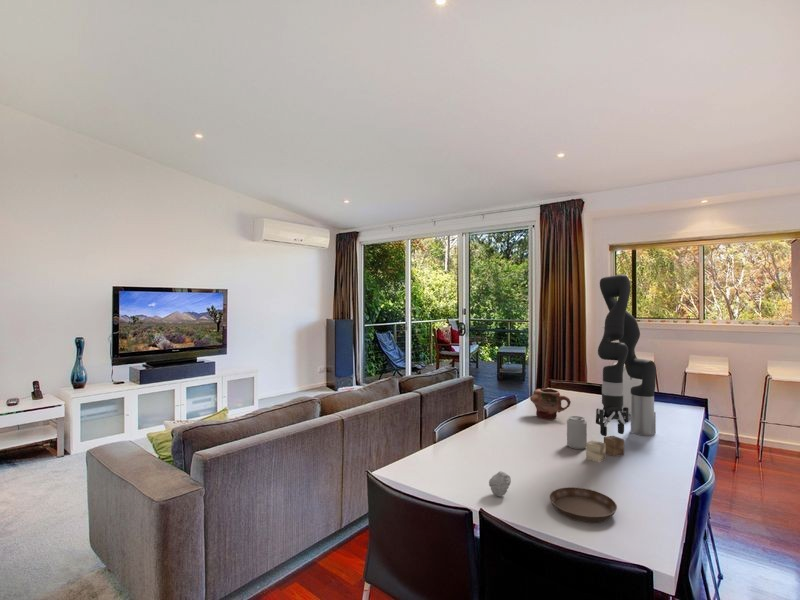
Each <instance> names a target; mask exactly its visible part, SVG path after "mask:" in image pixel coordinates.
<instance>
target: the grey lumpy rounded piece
mask: <svg viewBox="0 0 800 600" xmlns="http://www.w3.org/2000/svg"><path fill="white" fill-rule="evenodd" d="M511 482H512V480H511V476H510V475H509V474H507V473H506V472H504V471H501V470H500V471H498V472H497V473H495V474H494V475H492V477H491V478H489V480H488V486H489V487H490V490H491V493H492V494H493V495H495V496H496V497H503V496H505V495H506V494H507V492H508V489H509V487H510V485H511Z"/></svg>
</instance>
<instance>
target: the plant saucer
mask: <svg viewBox="0 0 800 600" xmlns="http://www.w3.org/2000/svg"><path fill="white" fill-rule="evenodd" d="M549 501H550V502H551V504H552V506H553V507H554V508H555V509H556V511H558V512H559V513H560V515H562V516H565V517H567V518H569V519H571V520H573V521H577V522H582V523H589V524H590V523H591V524H595V523H597V524H598V523H603V522H605V521H608V520H609V519H610V518H612V517H613V515H615V513H616V512H617V510H618V505H617V503H616V502H615V501H614V499H612V498H611V497H610V496H608V495H606V494H604V493H602V492H599V491H596V490H593V489H588V488H583V487H574V486H573V487H571V486H570V487H569V486H568V487H561V488H557V489H555V490H552V492H551V493H550V494H549Z"/></svg>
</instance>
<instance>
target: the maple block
mask: <svg viewBox="0 0 800 600" xmlns="http://www.w3.org/2000/svg"><path fill="white" fill-rule="evenodd" d="M606 454H607V453H606V443H604V442H601V441H597V440H594V439H592V440H590V441H587V443H586V447H585V459H586V460H590V461H593V462H597V463H601V462H603V461H605V460H607V459H606Z"/></svg>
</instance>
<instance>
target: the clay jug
mask: <svg viewBox="0 0 800 600" xmlns="http://www.w3.org/2000/svg"><path fill="white" fill-rule="evenodd" d="M529 400H530V401H531V402H532V404H533V405H534V406H535V409H536V412H535V414H536V417H537V418H539V419H542V420H548V421H549V420H551V421H552V420H554V419H557V413H561V412H563V411H565V410H567V409H568V408H569V407H570V406H571V400H570V398H569V397H568V396H565V395H562V394H561V393H560V392H559V390H557V389H556V390H555V389H553V388H537V389H535V390H534V391H533V395H531V396H530V398H529ZM562 401H566V403H567V405H566V406H565V407H562Z"/></svg>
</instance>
